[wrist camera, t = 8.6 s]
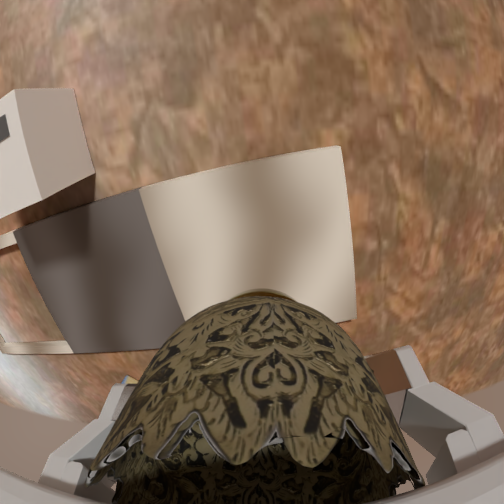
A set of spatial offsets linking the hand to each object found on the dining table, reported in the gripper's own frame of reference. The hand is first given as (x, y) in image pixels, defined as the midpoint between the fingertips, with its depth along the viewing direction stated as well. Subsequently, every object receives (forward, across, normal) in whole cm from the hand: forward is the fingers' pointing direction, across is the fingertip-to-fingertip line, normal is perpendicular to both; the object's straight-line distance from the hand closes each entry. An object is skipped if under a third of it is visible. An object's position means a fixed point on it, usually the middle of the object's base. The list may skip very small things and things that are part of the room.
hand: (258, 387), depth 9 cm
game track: (+9, +10, 0) cm, 14 cm away
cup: (+4, 0, 0) cm, 4 cm away
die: (+9, +10, -9) cm, 16 cm away
